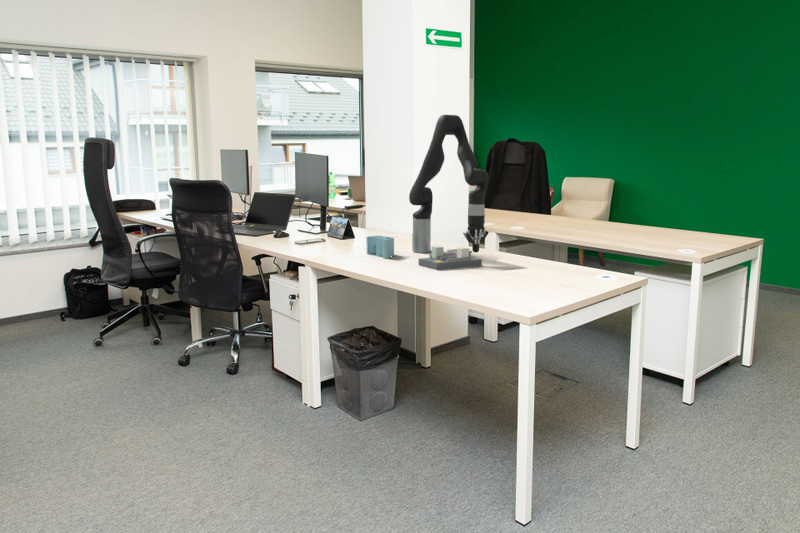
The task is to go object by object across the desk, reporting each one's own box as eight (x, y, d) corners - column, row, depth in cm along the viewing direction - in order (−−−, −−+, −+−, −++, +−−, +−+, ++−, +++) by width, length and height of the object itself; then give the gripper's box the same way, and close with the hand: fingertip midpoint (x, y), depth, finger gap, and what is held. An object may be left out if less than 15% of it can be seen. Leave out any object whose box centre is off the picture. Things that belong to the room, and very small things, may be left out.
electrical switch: (445, 250, 311) (461, 245, 315) (447, 260, 312) (462, 255, 317) (456, 252, 303) (472, 247, 307) (458, 262, 304) (473, 258, 309)
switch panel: (418, 265, 290) (418, 255, 289) (462, 261, 301) (462, 251, 300) (436, 270, 276) (436, 259, 275) (481, 265, 287) (482, 256, 286)
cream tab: (456, 258, 287) (456, 247, 286) (464, 258, 288) (464, 247, 288) (461, 259, 283) (461, 248, 282) (469, 259, 285) (469, 248, 284)
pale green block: (431, 257, 291) (431, 246, 290) (438, 256, 293) (438, 246, 292) (435, 258, 287) (436, 247, 287) (443, 258, 289) (443, 247, 288)
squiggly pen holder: (400, 256, 318) (400, 238, 316) (385, 258, 311) (385, 239, 310) (376, 253, 331) (376, 235, 329) (362, 254, 324) (361, 236, 323)
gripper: (483, 213, 292) (482, 250, 295) (459, 214, 286) (459, 252, 289) (493, 214, 286) (492, 252, 288) (468, 215, 280) (468, 254, 282)
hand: (475, 252), depth 289 cm, fingers closed
